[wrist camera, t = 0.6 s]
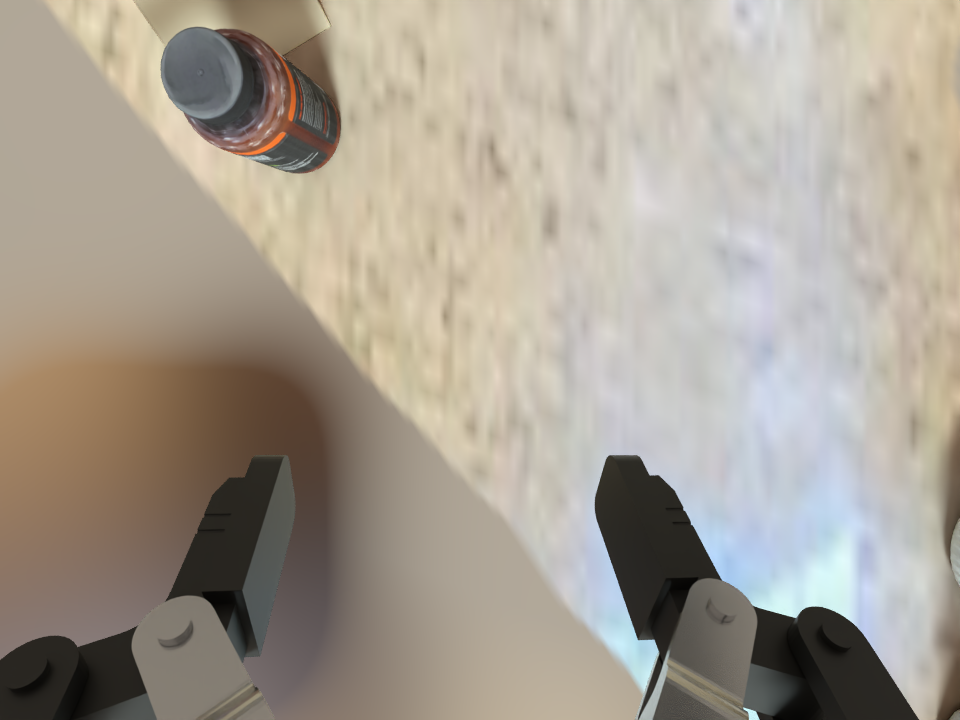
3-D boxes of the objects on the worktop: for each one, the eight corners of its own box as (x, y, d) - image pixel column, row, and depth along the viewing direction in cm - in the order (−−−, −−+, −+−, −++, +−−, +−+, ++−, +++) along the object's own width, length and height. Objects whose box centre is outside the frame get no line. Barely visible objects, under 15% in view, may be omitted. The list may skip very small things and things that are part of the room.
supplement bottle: (310, 62, 35) (213, -30, 24) (360, 143, 35) (289, 92, 24) (239, 114, 36) (113, 51, 24) (289, 193, 36) (190, 165, 25)
